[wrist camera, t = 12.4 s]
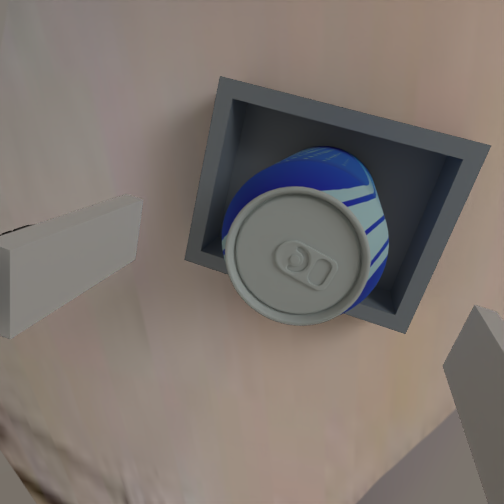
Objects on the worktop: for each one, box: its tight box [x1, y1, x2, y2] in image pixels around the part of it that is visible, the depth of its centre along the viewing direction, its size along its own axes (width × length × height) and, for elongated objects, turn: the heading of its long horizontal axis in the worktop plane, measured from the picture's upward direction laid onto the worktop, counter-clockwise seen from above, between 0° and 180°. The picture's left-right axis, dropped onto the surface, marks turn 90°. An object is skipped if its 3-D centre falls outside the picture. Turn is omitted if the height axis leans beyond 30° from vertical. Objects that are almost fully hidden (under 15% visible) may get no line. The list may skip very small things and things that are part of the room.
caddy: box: [185, 76, 491, 334], centre depth 31 cm, size 14×18×5 cm
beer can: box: [222, 146, 389, 326], centre depth 25 cm, size 8×8×16 cm
